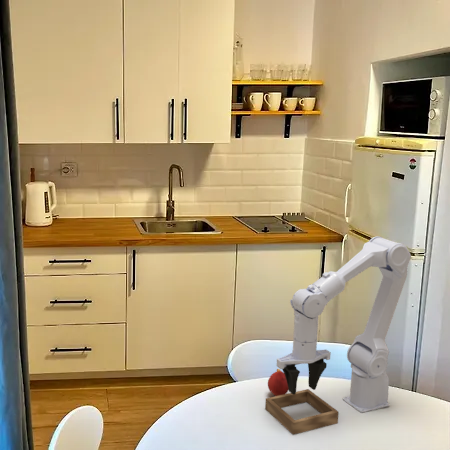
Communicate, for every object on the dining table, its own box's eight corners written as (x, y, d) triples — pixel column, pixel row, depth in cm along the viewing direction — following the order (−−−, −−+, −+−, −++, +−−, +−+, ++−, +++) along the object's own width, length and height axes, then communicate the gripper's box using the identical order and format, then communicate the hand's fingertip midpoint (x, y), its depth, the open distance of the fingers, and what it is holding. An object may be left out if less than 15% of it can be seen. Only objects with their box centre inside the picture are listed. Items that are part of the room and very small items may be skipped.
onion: (287, 391, 159) (288, 364, 158) (290, 402, 154) (292, 373, 152) (266, 391, 159) (267, 364, 158) (268, 402, 153) (269, 373, 152)
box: (307, 399, 155) (308, 389, 155) (337, 423, 144) (338, 411, 143) (265, 409, 150) (265, 398, 149) (293, 434, 138) (293, 423, 138)
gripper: (320, 328, 150) (316, 378, 152) (271, 336, 143) (268, 388, 146) (337, 338, 143) (333, 390, 146) (286, 347, 137) (283, 401, 140)
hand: (302, 390), depth 145 cm, fingers open, 5 cm apart
